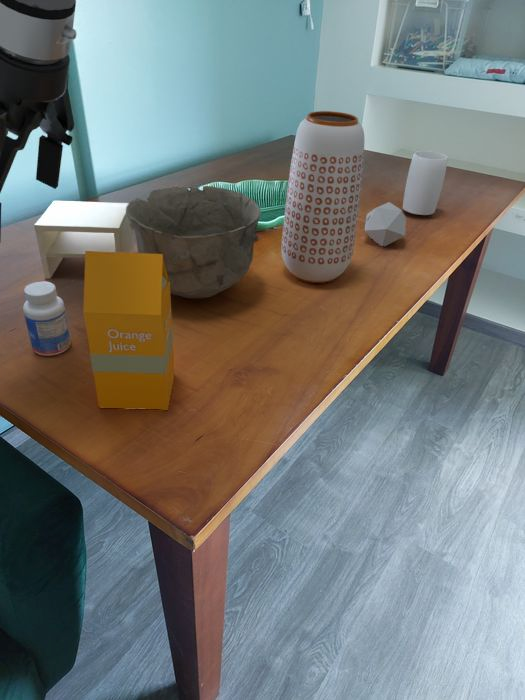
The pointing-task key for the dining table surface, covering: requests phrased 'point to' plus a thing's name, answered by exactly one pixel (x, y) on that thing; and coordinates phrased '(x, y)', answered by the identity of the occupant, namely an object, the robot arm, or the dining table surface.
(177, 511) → the dining table surface
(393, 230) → the die
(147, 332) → the orange juice
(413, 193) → the cup
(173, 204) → the bowl
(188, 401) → the dining table surface
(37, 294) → the pill bottle
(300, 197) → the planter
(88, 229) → the shelf
